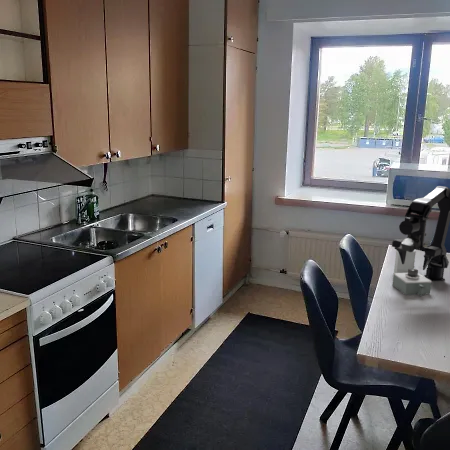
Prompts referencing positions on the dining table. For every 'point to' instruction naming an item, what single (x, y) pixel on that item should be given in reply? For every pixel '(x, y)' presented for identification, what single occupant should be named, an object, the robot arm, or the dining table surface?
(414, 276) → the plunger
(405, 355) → the dining table surface
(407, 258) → the supplement box
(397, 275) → the pale grey box
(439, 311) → the dining table surface
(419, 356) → the dining table surface
